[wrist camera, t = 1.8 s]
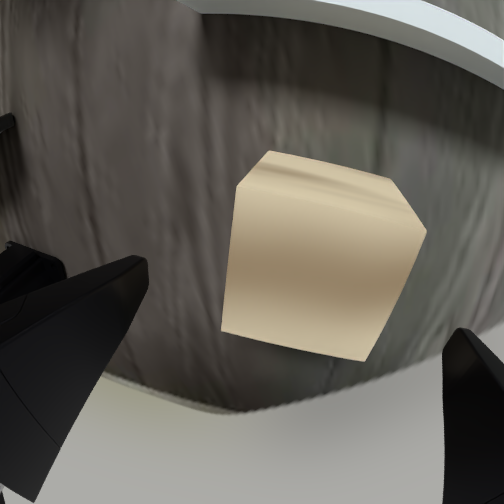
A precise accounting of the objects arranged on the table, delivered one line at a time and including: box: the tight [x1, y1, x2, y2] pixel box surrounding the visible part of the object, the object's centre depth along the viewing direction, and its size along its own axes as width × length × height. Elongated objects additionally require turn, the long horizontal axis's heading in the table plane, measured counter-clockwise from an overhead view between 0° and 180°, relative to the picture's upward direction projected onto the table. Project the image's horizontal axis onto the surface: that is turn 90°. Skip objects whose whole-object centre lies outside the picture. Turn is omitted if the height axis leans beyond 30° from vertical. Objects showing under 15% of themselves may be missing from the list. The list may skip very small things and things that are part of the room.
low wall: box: [176, 0, 504, 89], centre depth 7 cm, size 1×14×3 cm, turn 83°
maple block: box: [221, 151, 427, 362], centre depth 11 cm, size 5×5×5 cm
